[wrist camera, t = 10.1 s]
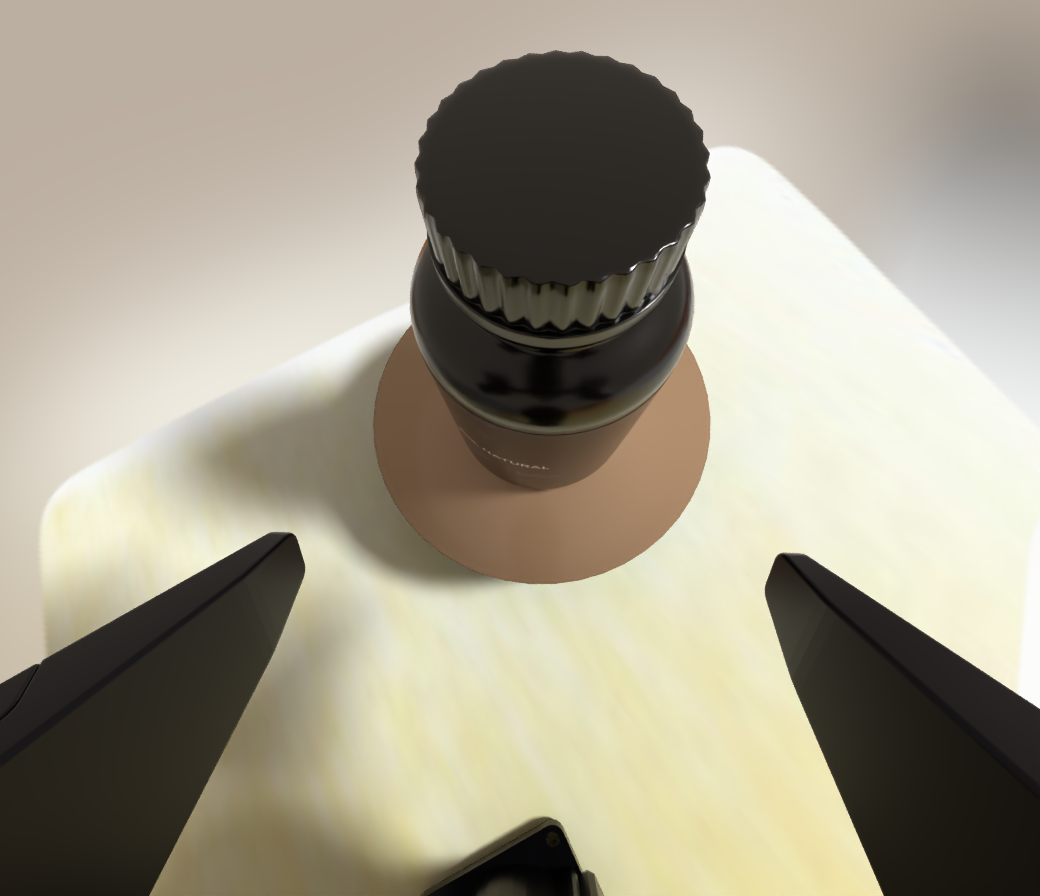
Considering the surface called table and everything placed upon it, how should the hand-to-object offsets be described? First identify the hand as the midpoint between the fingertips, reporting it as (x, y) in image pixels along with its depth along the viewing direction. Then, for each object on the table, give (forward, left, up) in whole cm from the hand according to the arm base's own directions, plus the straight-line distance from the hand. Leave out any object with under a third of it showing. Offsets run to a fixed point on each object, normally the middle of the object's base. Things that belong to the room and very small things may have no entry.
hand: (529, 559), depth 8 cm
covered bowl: (+3, +6, -13) cm, 15 cm away
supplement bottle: (+3, +5, -9) cm, 11 cm away
